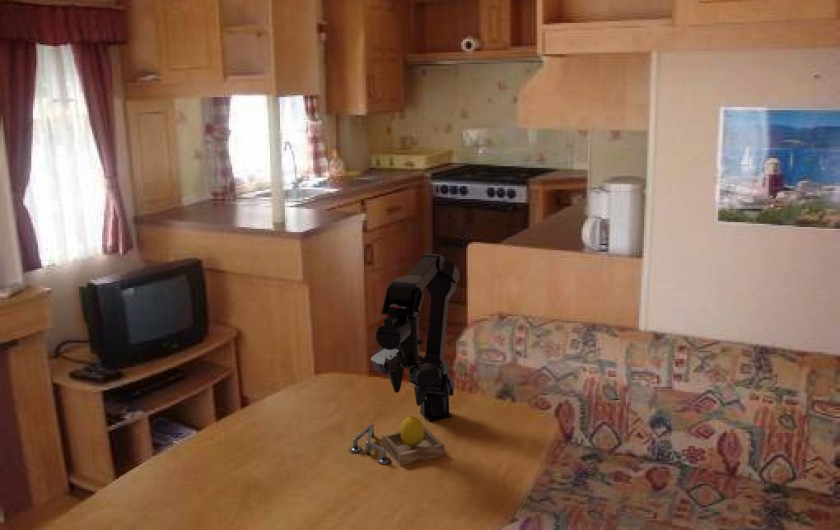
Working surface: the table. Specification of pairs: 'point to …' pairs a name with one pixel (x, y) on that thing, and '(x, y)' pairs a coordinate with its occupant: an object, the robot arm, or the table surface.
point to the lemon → (412, 431)
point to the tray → (407, 454)
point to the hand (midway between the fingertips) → (407, 398)
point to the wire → (369, 445)
